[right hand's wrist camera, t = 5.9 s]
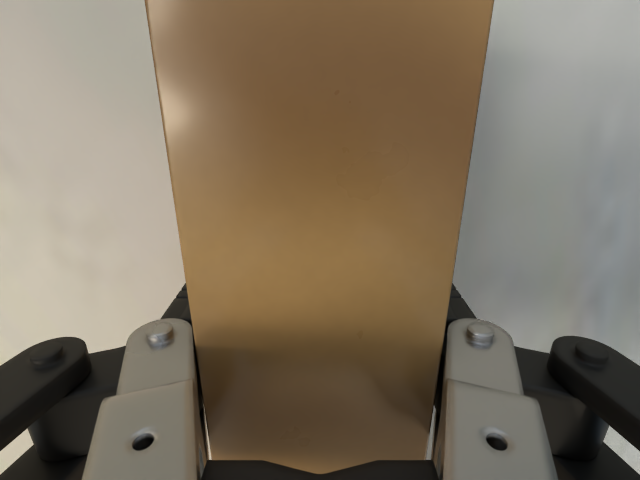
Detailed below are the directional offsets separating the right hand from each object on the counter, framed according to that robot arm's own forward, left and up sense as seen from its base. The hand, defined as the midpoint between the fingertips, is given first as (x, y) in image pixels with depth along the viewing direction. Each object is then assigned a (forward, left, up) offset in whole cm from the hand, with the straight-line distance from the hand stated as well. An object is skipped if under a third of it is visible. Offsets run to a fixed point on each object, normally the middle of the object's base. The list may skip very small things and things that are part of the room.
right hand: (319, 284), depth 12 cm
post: (+3, -27, -3) cm, 27 cm away
